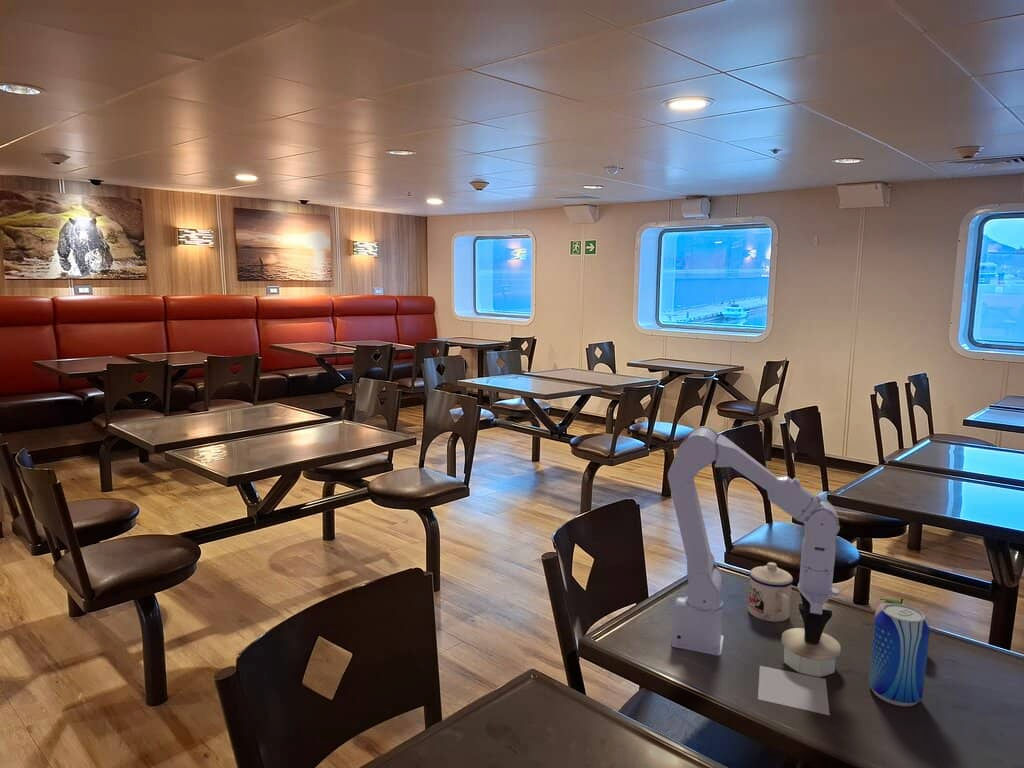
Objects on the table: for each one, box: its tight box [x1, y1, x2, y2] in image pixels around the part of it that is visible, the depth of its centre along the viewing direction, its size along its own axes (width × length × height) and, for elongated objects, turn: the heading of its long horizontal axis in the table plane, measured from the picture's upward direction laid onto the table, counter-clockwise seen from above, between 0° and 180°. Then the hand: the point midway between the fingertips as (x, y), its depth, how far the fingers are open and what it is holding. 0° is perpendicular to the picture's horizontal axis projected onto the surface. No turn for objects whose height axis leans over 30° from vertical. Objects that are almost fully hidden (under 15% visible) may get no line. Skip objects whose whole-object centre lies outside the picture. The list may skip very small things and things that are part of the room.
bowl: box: [783, 646, 837, 678], centre depth 132 cm, size 9×9×4 cm
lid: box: [781, 627, 842, 660], centre depth 132 cm, size 10×10×5 cm
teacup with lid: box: [747, 562, 794, 623], centre depth 151 cm, size 12×9×12 cm
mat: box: [757, 665, 831, 716], centre depth 124 cm, size 12×12×1 cm
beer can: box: [868, 604, 931, 707], centre depth 122 cm, size 8×8×16 cm
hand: (811, 632), depth 132 cm, fingers open, 7 cm apart
